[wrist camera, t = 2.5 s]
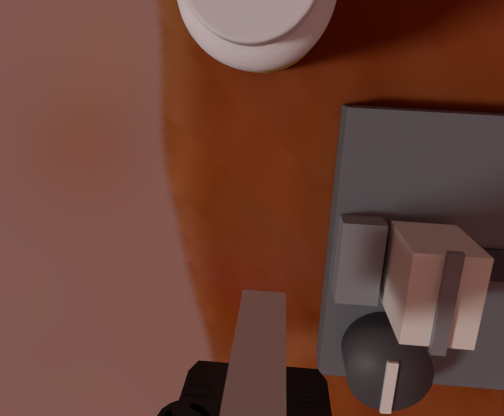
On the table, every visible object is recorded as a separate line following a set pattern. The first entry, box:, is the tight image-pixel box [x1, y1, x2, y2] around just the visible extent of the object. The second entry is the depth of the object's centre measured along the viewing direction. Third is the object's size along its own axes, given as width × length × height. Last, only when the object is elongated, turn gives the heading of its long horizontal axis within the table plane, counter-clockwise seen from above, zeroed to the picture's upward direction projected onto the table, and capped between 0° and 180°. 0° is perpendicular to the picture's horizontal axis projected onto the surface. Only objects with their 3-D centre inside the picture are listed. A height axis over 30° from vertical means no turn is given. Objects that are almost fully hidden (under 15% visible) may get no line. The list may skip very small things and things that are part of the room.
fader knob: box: [380, 221, 494, 356], centre depth 20 cm, size 4×3×4 cm
